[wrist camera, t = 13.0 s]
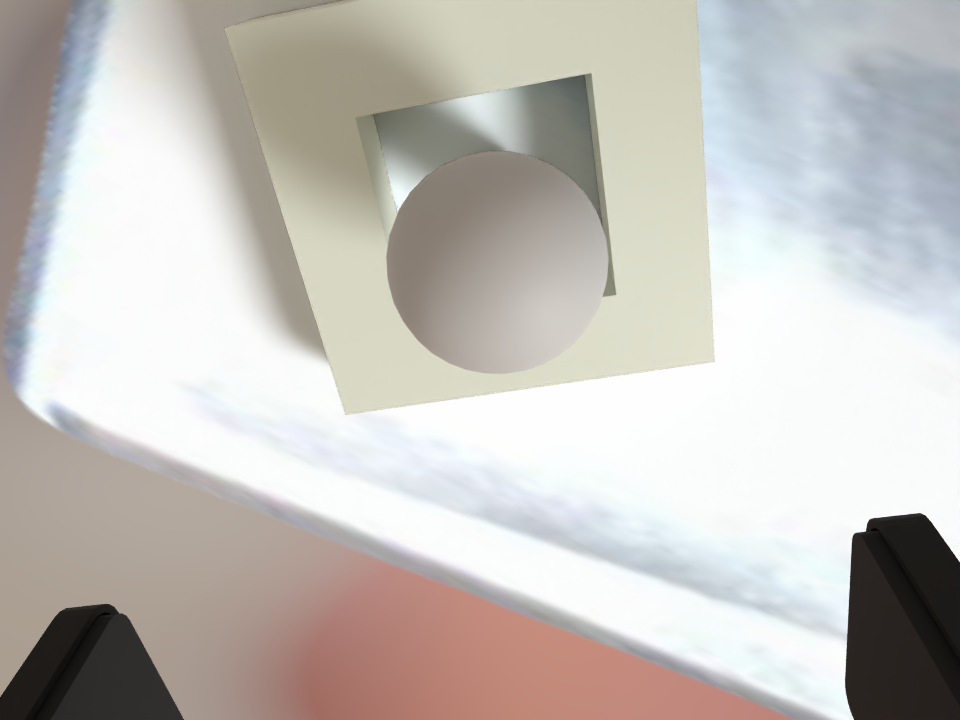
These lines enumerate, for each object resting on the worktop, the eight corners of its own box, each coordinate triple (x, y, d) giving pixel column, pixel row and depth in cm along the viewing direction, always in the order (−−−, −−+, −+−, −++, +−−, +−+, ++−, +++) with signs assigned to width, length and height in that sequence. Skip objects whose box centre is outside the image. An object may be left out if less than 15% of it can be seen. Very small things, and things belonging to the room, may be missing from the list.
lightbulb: (513, 60, 27) (517, 130, 17) (616, 197, 29) (670, 328, 19) (382, 172, 29) (317, 291, 19) (487, 292, 31) (477, 455, 21)
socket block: (673, -68, 25) (693, -69, 22) (697, 325, 31) (714, 361, 29) (252, 19, 26) (224, 28, 24) (358, 376, 33) (345, 414, 30)
